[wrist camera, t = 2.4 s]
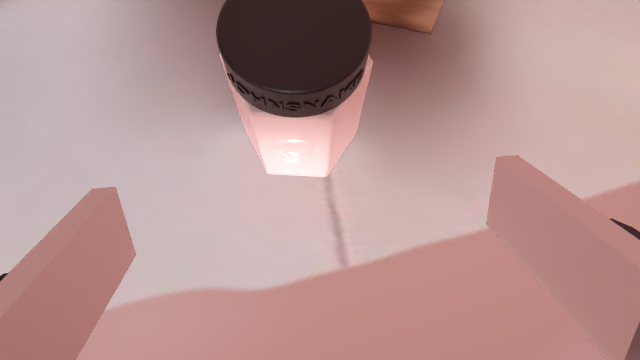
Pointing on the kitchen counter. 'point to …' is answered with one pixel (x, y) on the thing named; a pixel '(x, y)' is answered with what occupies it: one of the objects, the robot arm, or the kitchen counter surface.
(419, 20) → the open wooden box
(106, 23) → the kitchen counter surface
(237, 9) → the jar
